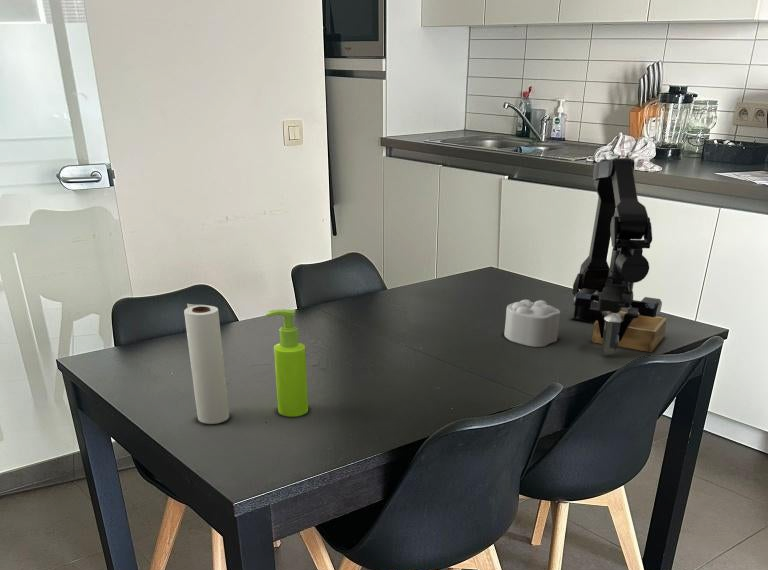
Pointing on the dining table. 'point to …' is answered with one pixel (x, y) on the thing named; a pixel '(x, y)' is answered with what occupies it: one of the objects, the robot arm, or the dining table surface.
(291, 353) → the soap dispenser
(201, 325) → the paper towel roll
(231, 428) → the dining table surface
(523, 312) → the lumpy-topped squat cylinder
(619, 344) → the crate
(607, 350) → the silver capped cylinder
